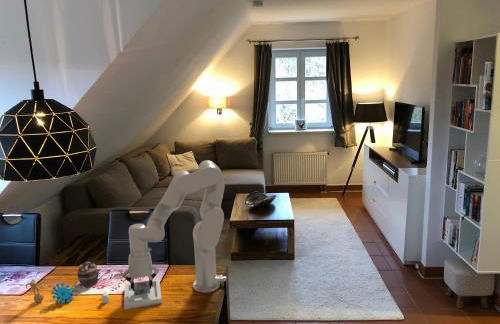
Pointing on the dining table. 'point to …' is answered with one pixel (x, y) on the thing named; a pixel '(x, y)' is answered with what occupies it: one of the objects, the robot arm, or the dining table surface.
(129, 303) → the tray
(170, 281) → the dining table surface
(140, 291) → the grey square frame
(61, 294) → the blue virus model
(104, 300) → the white rounded knob
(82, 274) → the cupcake
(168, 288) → the dining table surface
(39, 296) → the figurine
